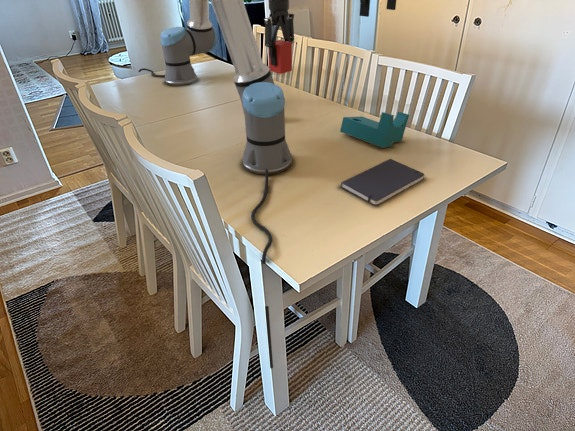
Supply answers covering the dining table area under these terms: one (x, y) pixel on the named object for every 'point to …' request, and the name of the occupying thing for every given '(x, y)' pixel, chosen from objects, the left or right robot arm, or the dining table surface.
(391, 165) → the notebook
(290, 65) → the block
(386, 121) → the teal l-shaped bracket
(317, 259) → the dining table surface
